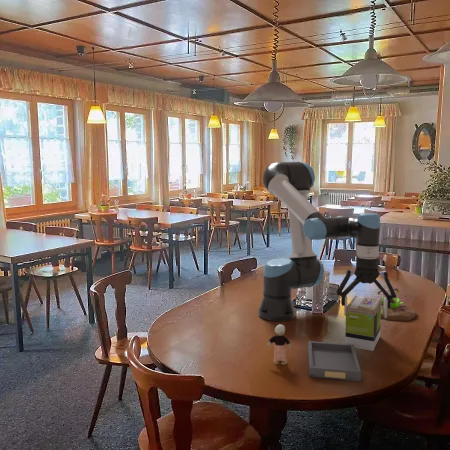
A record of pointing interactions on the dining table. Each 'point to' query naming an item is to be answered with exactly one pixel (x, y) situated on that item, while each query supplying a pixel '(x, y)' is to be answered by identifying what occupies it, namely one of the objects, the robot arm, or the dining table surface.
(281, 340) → the grandmother figurine
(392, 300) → the plant
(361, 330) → the tea box
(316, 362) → the slot tray
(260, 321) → the dining table surface
